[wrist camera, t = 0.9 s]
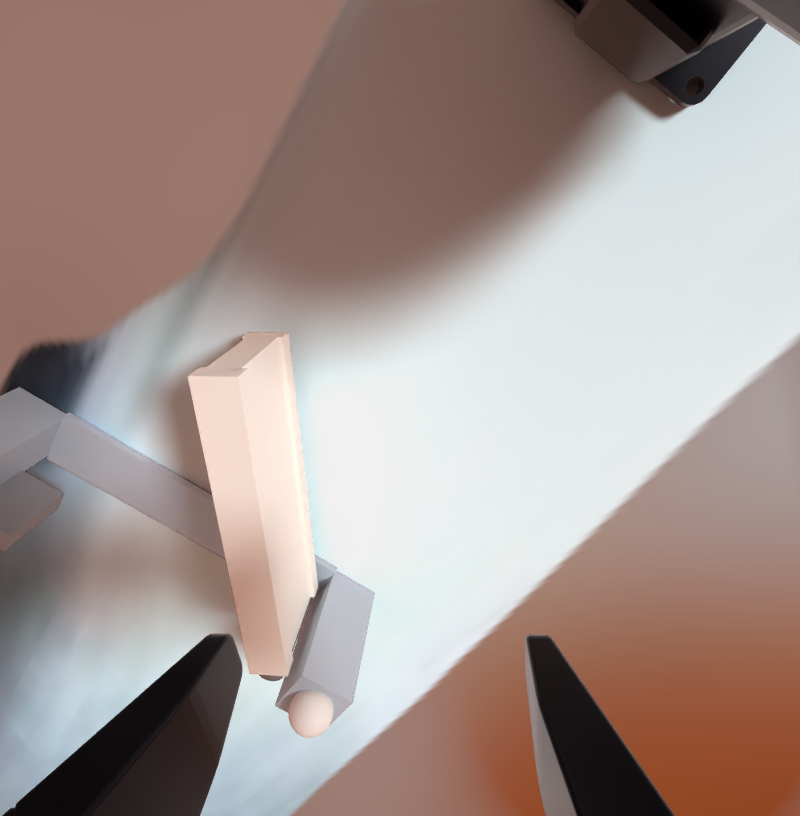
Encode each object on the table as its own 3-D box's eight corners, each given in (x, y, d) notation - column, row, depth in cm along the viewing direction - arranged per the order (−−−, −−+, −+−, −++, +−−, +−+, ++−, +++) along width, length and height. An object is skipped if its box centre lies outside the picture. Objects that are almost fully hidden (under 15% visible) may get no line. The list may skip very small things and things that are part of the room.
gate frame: (20, 383, 23) (-155, 464, 16) (376, 590, 26) (349, 729, 19) (2, 437, 24) (-166, 530, 18) (343, 627, 27) (307, 769, 20)
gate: (289, 330, 20) (237, 376, 15) (320, 593, 25) (289, 686, 21) (250, 330, 20) (187, 376, 15) (289, 591, 26) (251, 683, 21)
